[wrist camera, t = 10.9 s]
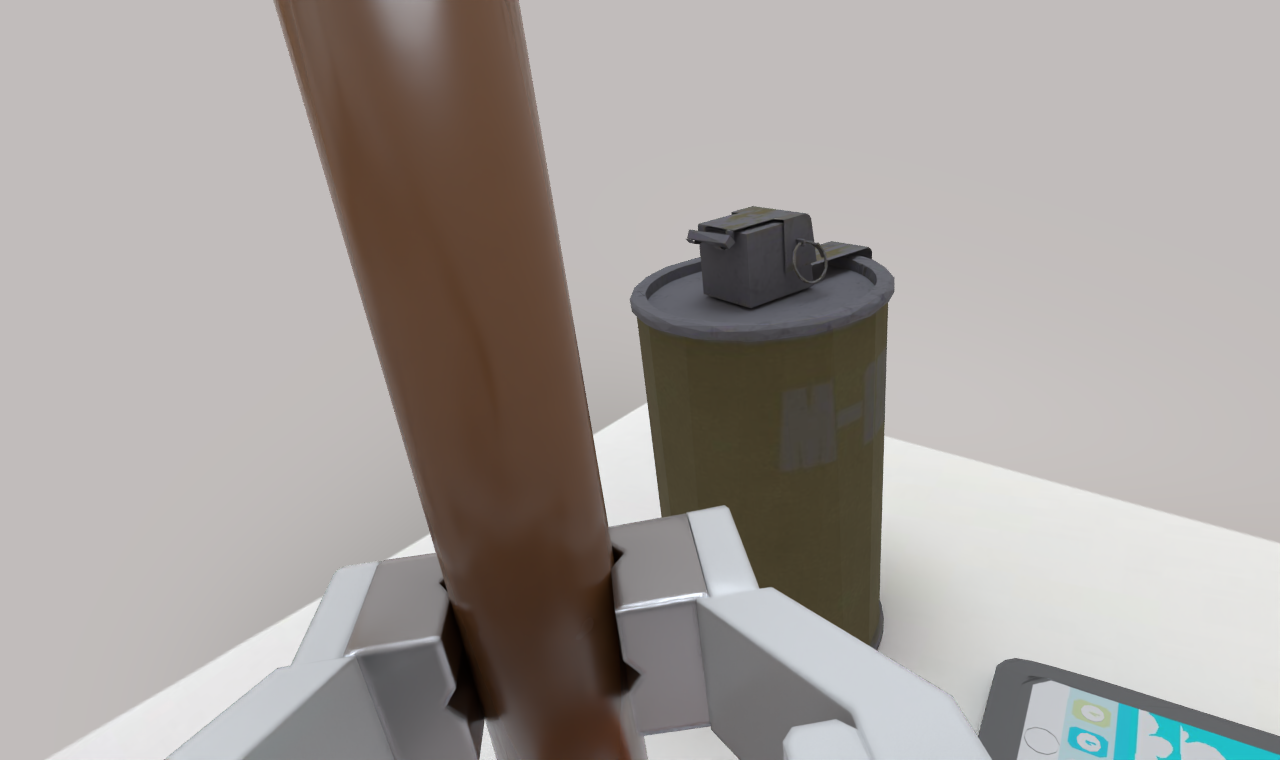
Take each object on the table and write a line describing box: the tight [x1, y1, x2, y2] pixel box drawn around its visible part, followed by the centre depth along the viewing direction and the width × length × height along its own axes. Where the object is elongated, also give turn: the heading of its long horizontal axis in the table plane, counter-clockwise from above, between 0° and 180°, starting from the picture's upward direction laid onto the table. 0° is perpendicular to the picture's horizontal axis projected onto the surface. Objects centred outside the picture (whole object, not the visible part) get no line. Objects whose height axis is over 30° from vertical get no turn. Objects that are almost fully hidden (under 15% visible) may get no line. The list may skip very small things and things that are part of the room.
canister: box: [630, 206, 894, 650], centre depth 32 cm, size 11×10×20 cm
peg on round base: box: [274, 0, 648, 760], centre depth 8 cm, size 6×6×19 cm
